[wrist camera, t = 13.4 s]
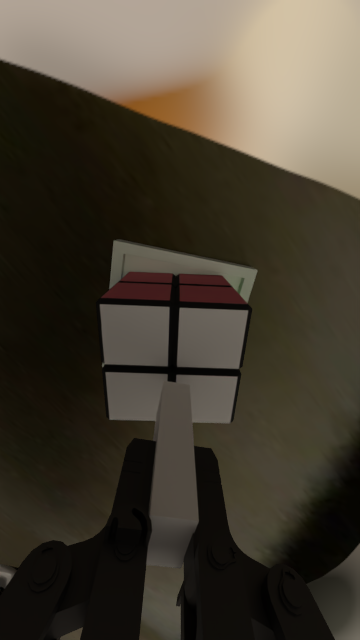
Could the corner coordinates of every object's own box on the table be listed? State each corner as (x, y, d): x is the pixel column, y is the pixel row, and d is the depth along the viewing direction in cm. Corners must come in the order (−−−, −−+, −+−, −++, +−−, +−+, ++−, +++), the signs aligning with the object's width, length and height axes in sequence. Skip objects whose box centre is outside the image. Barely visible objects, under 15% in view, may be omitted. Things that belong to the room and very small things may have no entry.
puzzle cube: (126, 270, 24) (93, 298, 14) (224, 274, 24) (254, 304, 15) (130, 356, 27) (105, 423, 18) (215, 359, 28) (234, 426, 18)
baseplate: (107, 357, 29) (102, 367, 27) (119, 239, 24) (113, 240, 22) (217, 375, 30) (220, 386, 28) (251, 266, 25) (257, 270, 23)
